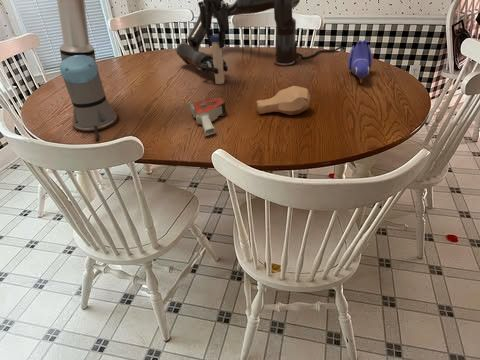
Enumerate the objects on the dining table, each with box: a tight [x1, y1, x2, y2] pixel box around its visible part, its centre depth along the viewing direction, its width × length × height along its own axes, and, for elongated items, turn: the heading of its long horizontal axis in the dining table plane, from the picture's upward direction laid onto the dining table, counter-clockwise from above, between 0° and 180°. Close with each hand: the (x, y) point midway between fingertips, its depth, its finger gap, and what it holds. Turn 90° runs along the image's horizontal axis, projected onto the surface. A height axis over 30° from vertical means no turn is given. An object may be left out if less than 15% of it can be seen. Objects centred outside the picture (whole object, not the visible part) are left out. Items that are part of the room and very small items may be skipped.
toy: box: [347, 39, 373, 84], centre depth 152 cm, size 10×17×25 cm
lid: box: [210, 33, 219, 42], centre depth 149 cm, size 5×5×2 cm
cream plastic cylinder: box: [211, 42, 225, 85], centre depth 154 cm, size 4×4×19 cm
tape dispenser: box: [188, 97, 226, 137], centre depth 128 cm, size 18×5×20 cm
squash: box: [255, 85, 312, 116], centre depth 130 cm, size 11×20×9 cm, turn 92°
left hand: (216, 46), depth 151 cm, fingers closed on lid, 5 cm apart
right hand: (221, 70), depth 155 cm, fingers closed on cream plastic cylinder, 4 cm apart
